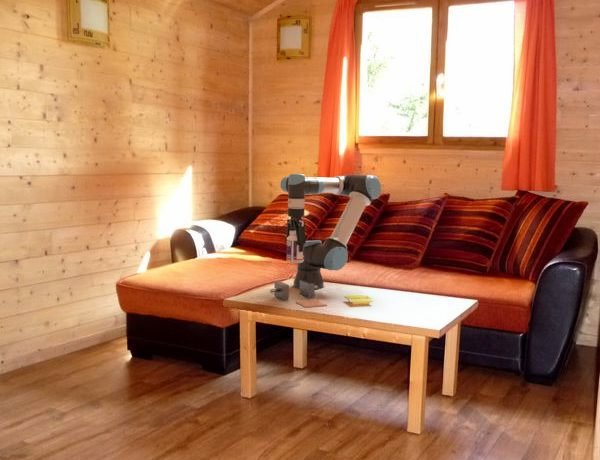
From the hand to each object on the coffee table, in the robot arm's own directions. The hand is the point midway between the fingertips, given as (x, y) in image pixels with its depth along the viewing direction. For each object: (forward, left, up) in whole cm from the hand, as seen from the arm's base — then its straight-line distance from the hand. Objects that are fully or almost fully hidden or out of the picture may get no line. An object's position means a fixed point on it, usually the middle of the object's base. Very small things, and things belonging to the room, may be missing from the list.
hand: (295, 257), depth 292 cm
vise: (0, 0, -19) cm, 19 cm away
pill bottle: (0, 0, -2) cm, 2 cm away
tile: (-1, +15, -19) cm, 24 cm away
